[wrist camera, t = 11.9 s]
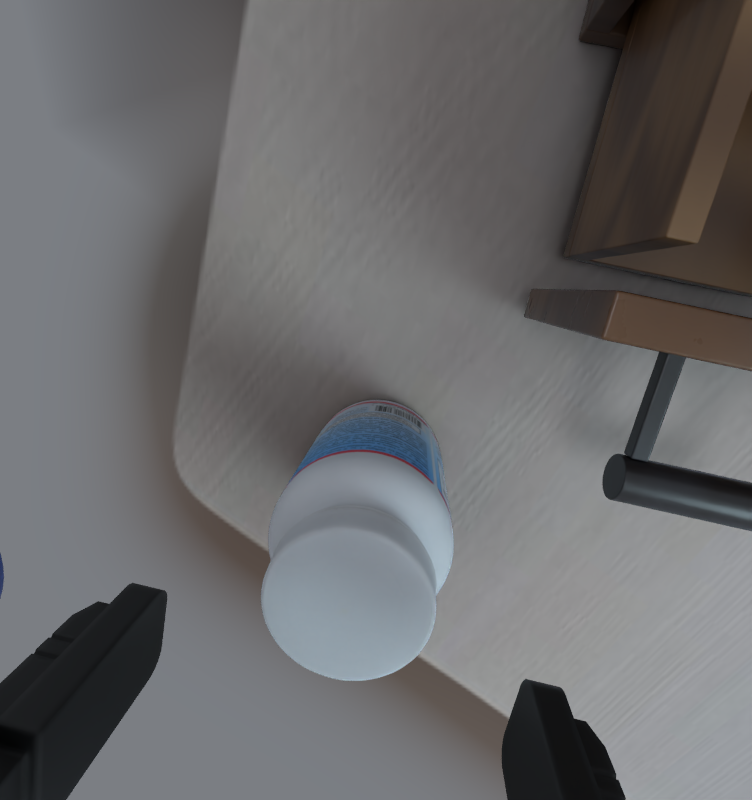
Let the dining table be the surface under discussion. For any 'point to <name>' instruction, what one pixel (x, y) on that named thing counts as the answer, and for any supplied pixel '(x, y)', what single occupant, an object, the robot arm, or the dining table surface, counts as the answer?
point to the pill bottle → (360, 545)
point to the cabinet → (607, 22)
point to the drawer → (670, 229)
